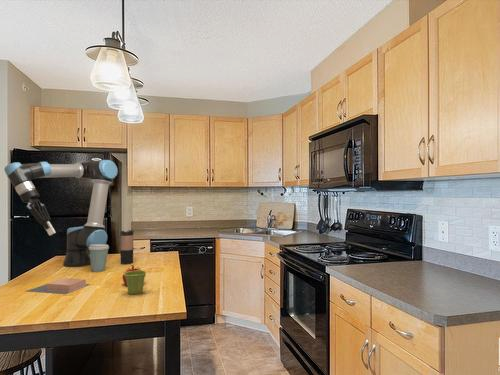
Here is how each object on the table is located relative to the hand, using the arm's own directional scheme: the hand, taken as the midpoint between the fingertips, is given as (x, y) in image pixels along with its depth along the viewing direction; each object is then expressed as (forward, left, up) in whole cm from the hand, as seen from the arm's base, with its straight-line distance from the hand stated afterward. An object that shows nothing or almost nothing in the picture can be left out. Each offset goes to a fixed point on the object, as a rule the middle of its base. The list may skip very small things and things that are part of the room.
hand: (52, 234), depth 164 cm
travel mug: (-23, +43, -24) cm, 55 cm away
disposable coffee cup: (-12, +24, -24) cm, 36 cm away
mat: (+15, +1, -24) cm, 28 cm away
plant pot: (+42, +26, -24) cm, 55 cm away
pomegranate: (+28, +30, -24) cm, 48 cm away
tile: (+13, -1, -21) cm, 25 cm away
